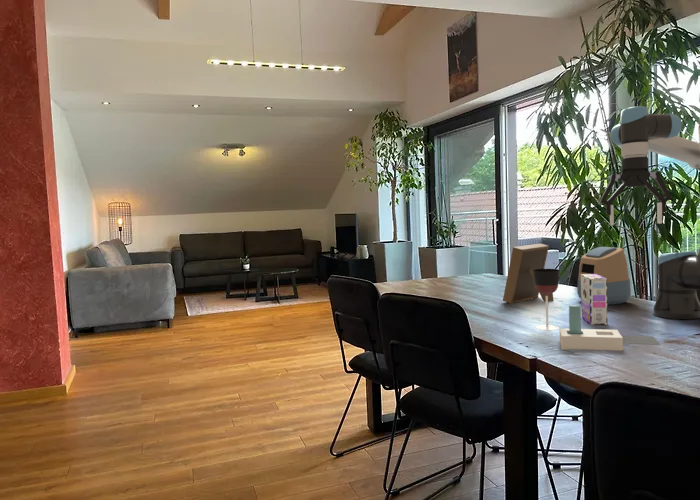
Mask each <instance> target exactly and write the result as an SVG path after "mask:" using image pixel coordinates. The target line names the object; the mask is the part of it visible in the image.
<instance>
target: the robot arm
mask: <svg viewBox="0 0 700 500" xmlns="http://www.w3.org/2000/svg"><path fill="white" fill-rule="evenodd" d="M681 129H682V120H681V117H680V116H678V115H677V114H675V113H674V114H672V113H653V114H652V113H650V112H649V108H648V107H646V106H643V105H642V106H631V107H627V108H624V109H622V111H621V113H620V123H618V124H616V125H614V126H613V127H612V129H611V132H610V140H611V141H612V143H613V144H615V146H620V148H621V150H620V151H621V152H620V153H621V154H620V156H621V158H622V159H621V160H620V161H621V163H620V165H621V173H619V174H616V173H612V174H611V175H610V179H609V182H608V184H607V187H606V188H605V190H604V192H603V194H602V196H601V198H600V200H599V203H600V204H603V205H605V214H606V215H607V216H609V225H610V226H615V223H614V222H615V220H614V219H615V218H614V217H615V215H614V214H615V213H614V204H612V203H613V202H614V201H615V200H616V199H617V197H618V196H620V194H621V193H622V192H623V191H624V190H625V189H626V187H627V188H632V187H638V188H639V187H642V186H643V187H644V188H646V189H647V191H649V192H650V194H652V195H653V196H654V197H655V198H656V199H657V200H658V201H659V202H656V207H657V208H656V209H657V211H656V212H657V213H656V214H657V217H656V218H657V219H656V220H657V221H656V223H657V224H663V213H664V214H665V213H666V210H667V208H666V207H667V206H666V205H667V204H666V203H667V202H668V201H671V200H673V196H672V194H671V193H670V190H669V189H668V187H667V186H666V184H665V182H664V180H663V179H662V176H661V171H660V170H657V171H652V172H650V169H649V157H648V155H649V152H651V153H654V154H658V155H661V156H664V157H667V158H670V159H674V160H675V161H676V160H677V161H680V162H681V163H682V162H683V163H686V164H688V166H689V167H690V168H692V169H694V170H698V171H700V142H696V141H693V140H691V139H688V138H684V137H681V136H678V134H679V133H680V132H681ZM651 177H652V179H654V180H655V182H656V183H657V185H658V188H660V190H661V192H662V194H663V195H662V194H661V193H660V192H659V190H657V189H656V188H655V187H654V186H653V185H652V184H651V183H650V182H649V180H648V179H650V178H651ZM619 179H620V180H621V181H622V183H621V184H620V185H619V187H618V188H617V189H616V190H615V191H614V193H613V194H612V195H611V196H610V197H609V198H608V196H609V195H610V193H611V191H612V188H613V187H614V185H615V182H616V181H618V180H619ZM607 198H608V199H607ZM657 270H658V273H657V275H658V276H657V277H658V295H657V297H656V300H655V303H654V305H653V310H652V311H653V315H654V316H656V317H660V318H665V319H672V320H673V319H675V320H676V319H677V320H692V319H694V320H695V319H700V300H699V297H698V295H697V291H698V290H699V291H700V248H699V249H698V253H697V252H696V251H695V250H693V251H691V250H690V251H680V252H679V251H677V252H668V253H667V252H666V253H661V254H660V255H659V256H658V263H657Z"/></svg>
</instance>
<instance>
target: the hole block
mask: <svg viewBox="0 0 700 500" xmlns="http://www.w3.org/2000/svg"><path fill="white" fill-rule="evenodd" d="M622 336H623V335H621V333H620V332H619V330H618V329H600V328H599V329H595V328H581V334H569V328H559V343H560V348H561V350H562V351H563V350H564V351H570V350H597V351H600V350H601V351H624V344H623V337H622Z"/></svg>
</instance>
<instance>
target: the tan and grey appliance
mask: <svg viewBox="0 0 700 500" xmlns="http://www.w3.org/2000/svg"><path fill="white" fill-rule="evenodd" d="M628 270H629V269H628V261H627V258H626V255H625V250H624V248H621V247H612V246H611V247H609V246H599V247H594V248H593V249H591V250H589V251H587V253H585V254H584V255H583V254H582V256H581V258H580V261H579V269H578V279H577V292H576V293H577V296H578V298H579V299H580V300H581V274H597V275H600V276H602V277H604V278H607V306H609V304H612V305H621V304H625V303H626V302H628V300H630V297H631V295H632V293H631V279H630V277H629V276H630V275H629V271H628Z"/></svg>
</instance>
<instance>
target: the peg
mask: <svg viewBox="0 0 700 500" xmlns="http://www.w3.org/2000/svg"><path fill="white" fill-rule="evenodd" d="M568 317H569V318H568V320H569V321H568V323H569V325H568V326H569V328H568V329H569V334H581V329H582V309H581V305H577V304H572V305H569V306H568Z"/></svg>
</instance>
